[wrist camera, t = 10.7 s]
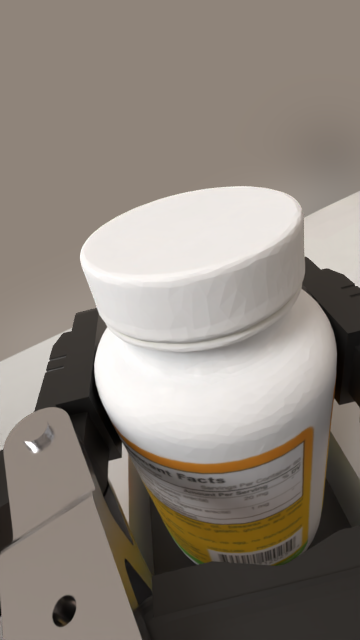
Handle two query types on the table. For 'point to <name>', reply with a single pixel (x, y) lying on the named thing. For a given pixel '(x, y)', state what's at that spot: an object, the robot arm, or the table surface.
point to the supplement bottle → (217, 368)
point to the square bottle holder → (337, 512)
